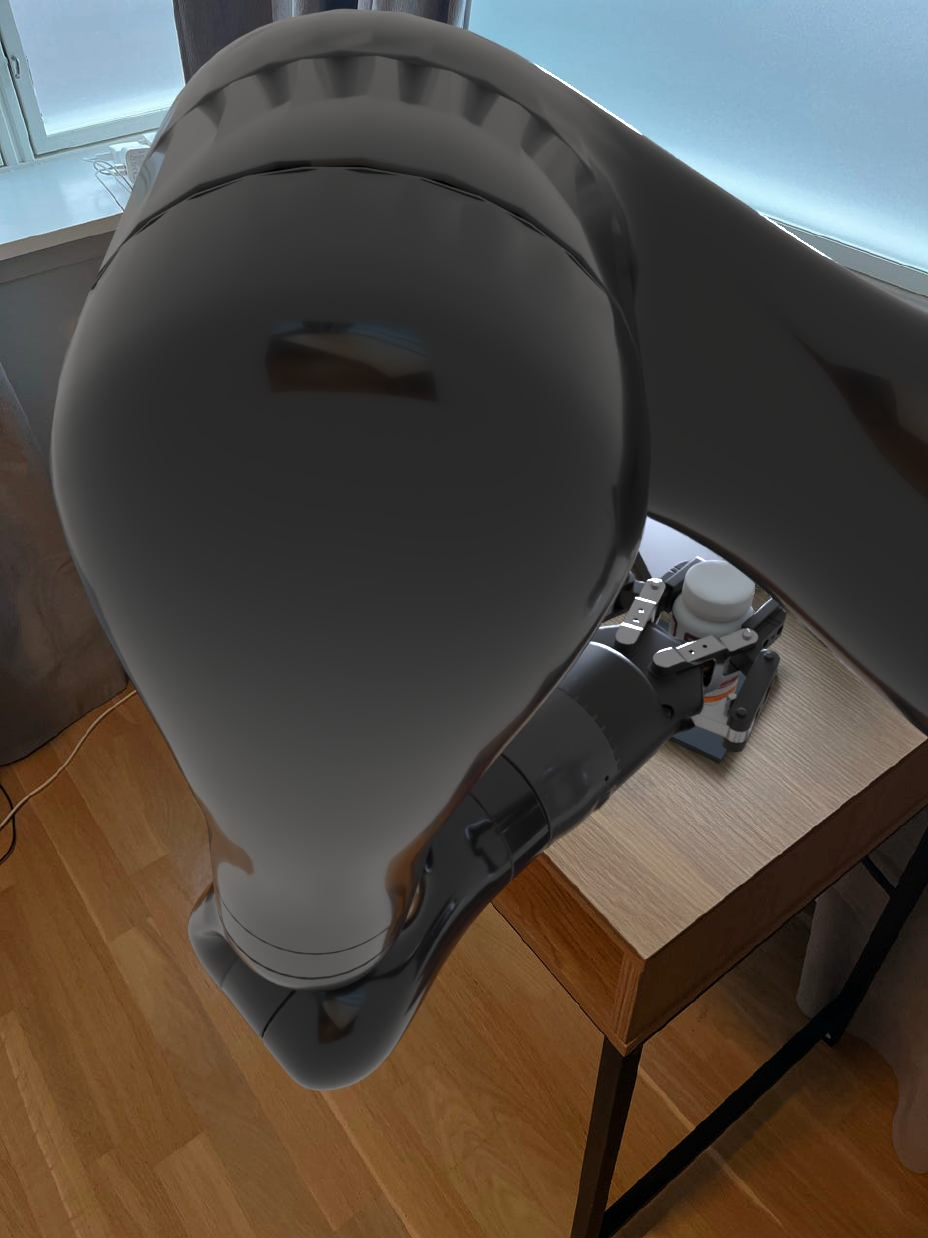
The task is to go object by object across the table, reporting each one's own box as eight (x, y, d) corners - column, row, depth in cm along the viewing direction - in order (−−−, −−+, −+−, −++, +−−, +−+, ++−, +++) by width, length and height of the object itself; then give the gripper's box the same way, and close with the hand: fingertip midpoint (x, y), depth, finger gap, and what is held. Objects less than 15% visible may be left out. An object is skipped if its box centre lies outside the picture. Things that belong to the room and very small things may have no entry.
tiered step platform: (851, 570, 85) (863, 534, 83) (651, 596, 83) (656, 560, 80) (802, 504, 93) (812, 469, 90) (617, 527, 90) (621, 492, 88)
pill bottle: (752, 689, 61) (780, 589, 55) (694, 720, 59) (718, 619, 53) (700, 645, 64) (722, 545, 58) (644, 672, 62) (661, 572, 56)
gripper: (681, 775, 44) (863, 596, 53) (457, 626, 51) (650, 491, 60) (660, 868, 49) (830, 690, 58) (459, 721, 56) (637, 583, 65)
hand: (737, 590), depth 59 cm, fingers closed on pill bottle, 4 cm apart
